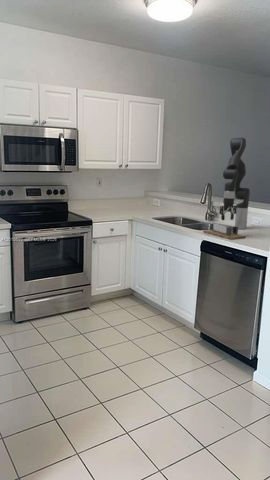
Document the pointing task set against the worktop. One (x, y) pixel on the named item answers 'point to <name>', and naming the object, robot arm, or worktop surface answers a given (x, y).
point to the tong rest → (223, 235)
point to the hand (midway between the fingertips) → (227, 219)
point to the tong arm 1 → (222, 229)
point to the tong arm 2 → (233, 228)
